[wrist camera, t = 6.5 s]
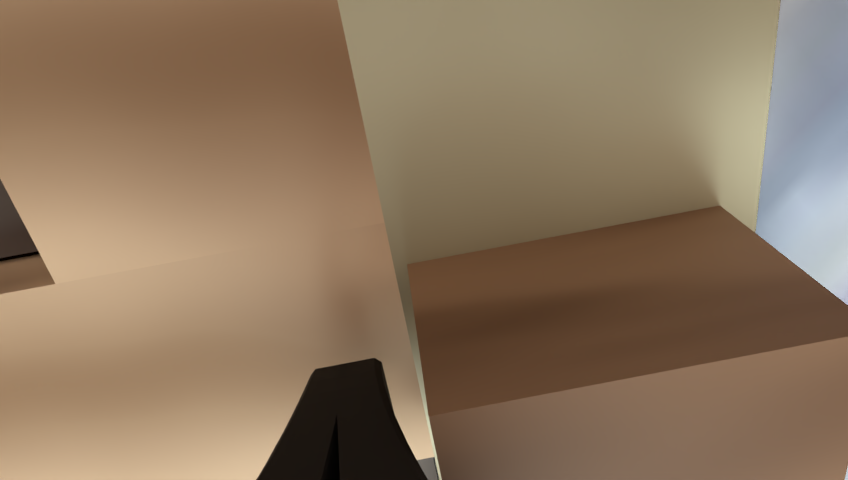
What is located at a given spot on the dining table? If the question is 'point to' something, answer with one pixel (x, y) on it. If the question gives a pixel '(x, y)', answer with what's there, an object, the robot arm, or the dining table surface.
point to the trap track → (317, 194)
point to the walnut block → (633, 357)
